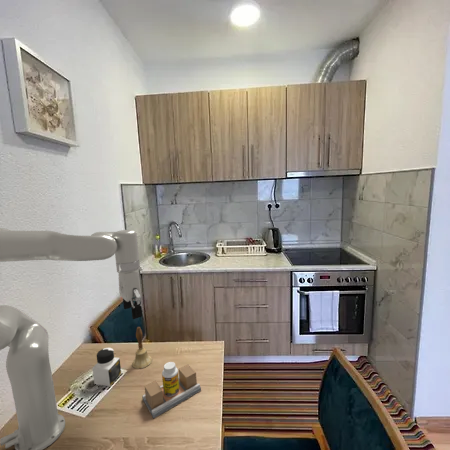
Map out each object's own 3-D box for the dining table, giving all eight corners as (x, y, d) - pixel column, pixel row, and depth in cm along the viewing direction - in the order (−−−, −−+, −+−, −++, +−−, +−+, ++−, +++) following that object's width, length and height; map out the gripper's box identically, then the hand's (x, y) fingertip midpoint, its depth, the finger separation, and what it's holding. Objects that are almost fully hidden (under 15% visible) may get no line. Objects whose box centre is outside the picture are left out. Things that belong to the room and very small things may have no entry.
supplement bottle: (163, 399, 88) (161, 372, 87) (163, 387, 94) (161, 362, 92) (180, 395, 90) (178, 368, 88) (178, 384, 95) (176, 358, 94)
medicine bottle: (110, 386, 97) (107, 357, 96) (94, 384, 99) (90, 356, 97) (121, 373, 104) (118, 346, 103) (106, 371, 106) (102, 344, 104)
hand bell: (128, 367, 108) (124, 332, 106) (139, 355, 116) (135, 321, 113) (145, 370, 106) (142, 333, 104) (155, 357, 114) (152, 323, 111)
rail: (153, 418, 83) (151, 401, 82) (142, 399, 91) (141, 383, 90) (201, 390, 93) (200, 374, 93) (187, 375, 101) (186, 361, 100)
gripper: (110, 263, 93) (115, 307, 96) (124, 274, 80) (129, 325, 82) (131, 259, 98) (135, 301, 100) (147, 268, 84) (152, 318, 86)
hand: (132, 312), depth 91 cm, fingers open, 9 cm apart
